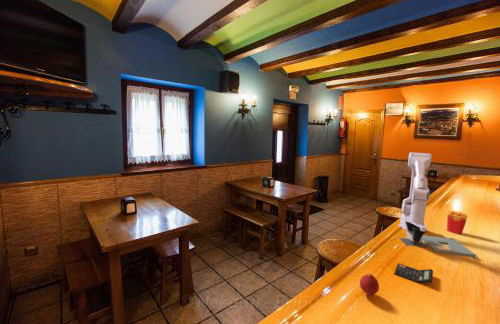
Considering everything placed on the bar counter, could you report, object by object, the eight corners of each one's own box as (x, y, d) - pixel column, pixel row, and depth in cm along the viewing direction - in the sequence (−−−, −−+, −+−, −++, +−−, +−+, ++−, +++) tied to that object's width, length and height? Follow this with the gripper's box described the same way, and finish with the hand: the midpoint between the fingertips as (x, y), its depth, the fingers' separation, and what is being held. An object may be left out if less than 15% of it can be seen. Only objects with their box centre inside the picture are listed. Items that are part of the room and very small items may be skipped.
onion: (371, 288, 85) (374, 268, 84) (381, 300, 80) (384, 278, 78) (355, 288, 85) (358, 268, 84) (364, 300, 80) (366, 278, 78)
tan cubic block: (405, 239, 122) (406, 230, 121) (416, 240, 121) (417, 231, 120) (409, 244, 117) (411, 234, 116) (421, 245, 116) (422, 235, 116)
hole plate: (418, 238, 126) (418, 234, 126) (452, 242, 123) (453, 238, 123) (435, 254, 111) (436, 249, 110) (475, 258, 108) (476, 254, 107)
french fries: (444, 230, 138) (447, 210, 136) (446, 228, 140) (450, 209, 138) (463, 236, 131) (467, 215, 129) (465, 234, 133) (469, 213, 131)
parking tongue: (398, 239, 124) (398, 237, 124) (419, 241, 122) (420, 239, 122) (405, 247, 116) (405, 245, 116) (428, 249, 115) (428, 247, 115)
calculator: (397, 264, 102) (398, 258, 101) (432, 276, 94) (433, 269, 94) (394, 275, 94) (395, 268, 94) (430, 288, 87) (432, 281, 87)
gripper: (402, 207, 125) (398, 231, 127) (415, 217, 111) (411, 245, 113) (417, 208, 123) (413, 233, 125) (432, 219, 109) (428, 246, 111)
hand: (413, 238), depth 119 cm, fingers closed on tan cubic block, 5 cm apart
